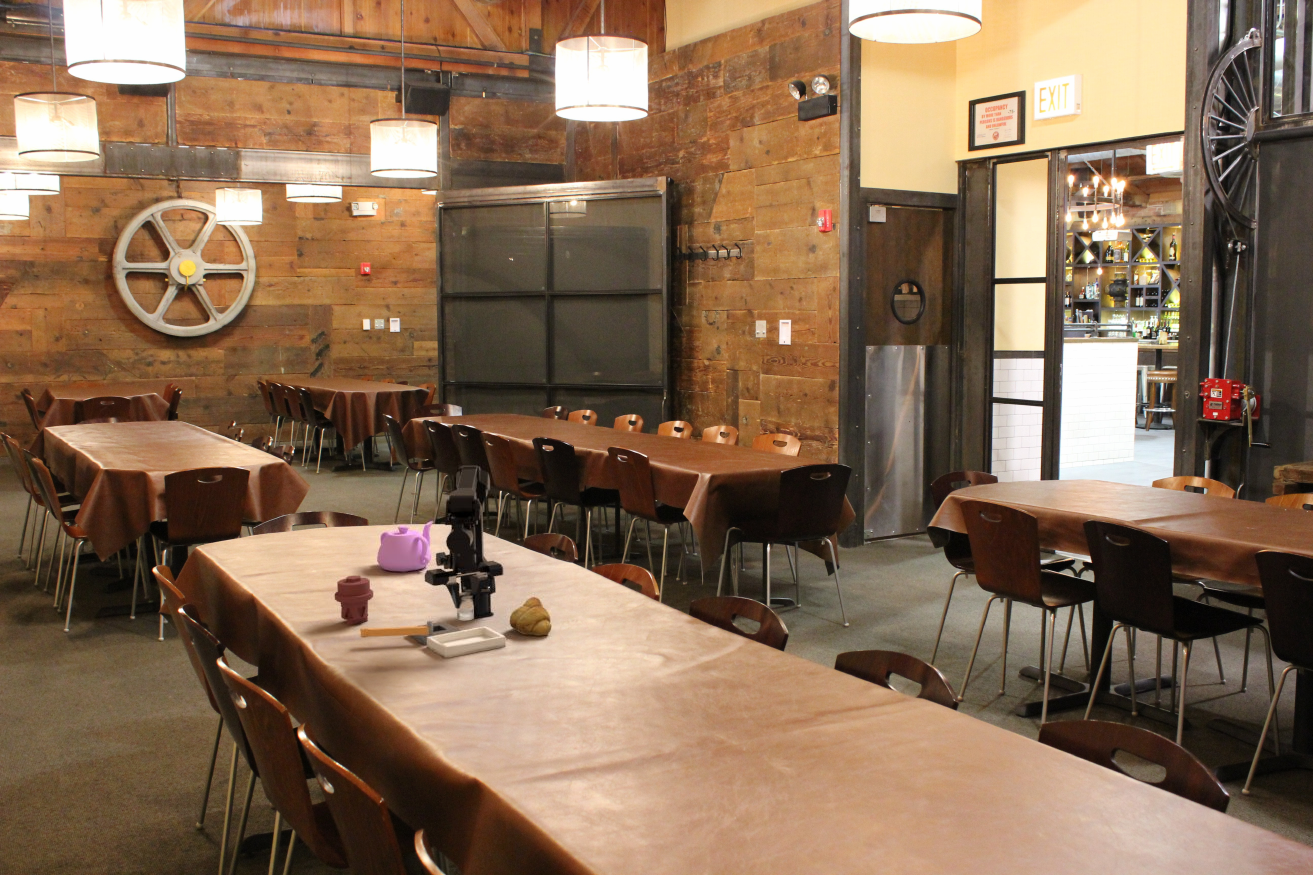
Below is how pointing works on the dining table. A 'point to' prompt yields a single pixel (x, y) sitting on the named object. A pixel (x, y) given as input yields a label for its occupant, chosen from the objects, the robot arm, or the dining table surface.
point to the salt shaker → (465, 606)
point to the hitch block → (436, 631)
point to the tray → (465, 642)
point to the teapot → (405, 549)
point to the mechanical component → (354, 598)
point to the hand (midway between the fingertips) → (465, 606)
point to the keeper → (398, 631)
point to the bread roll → (531, 618)
